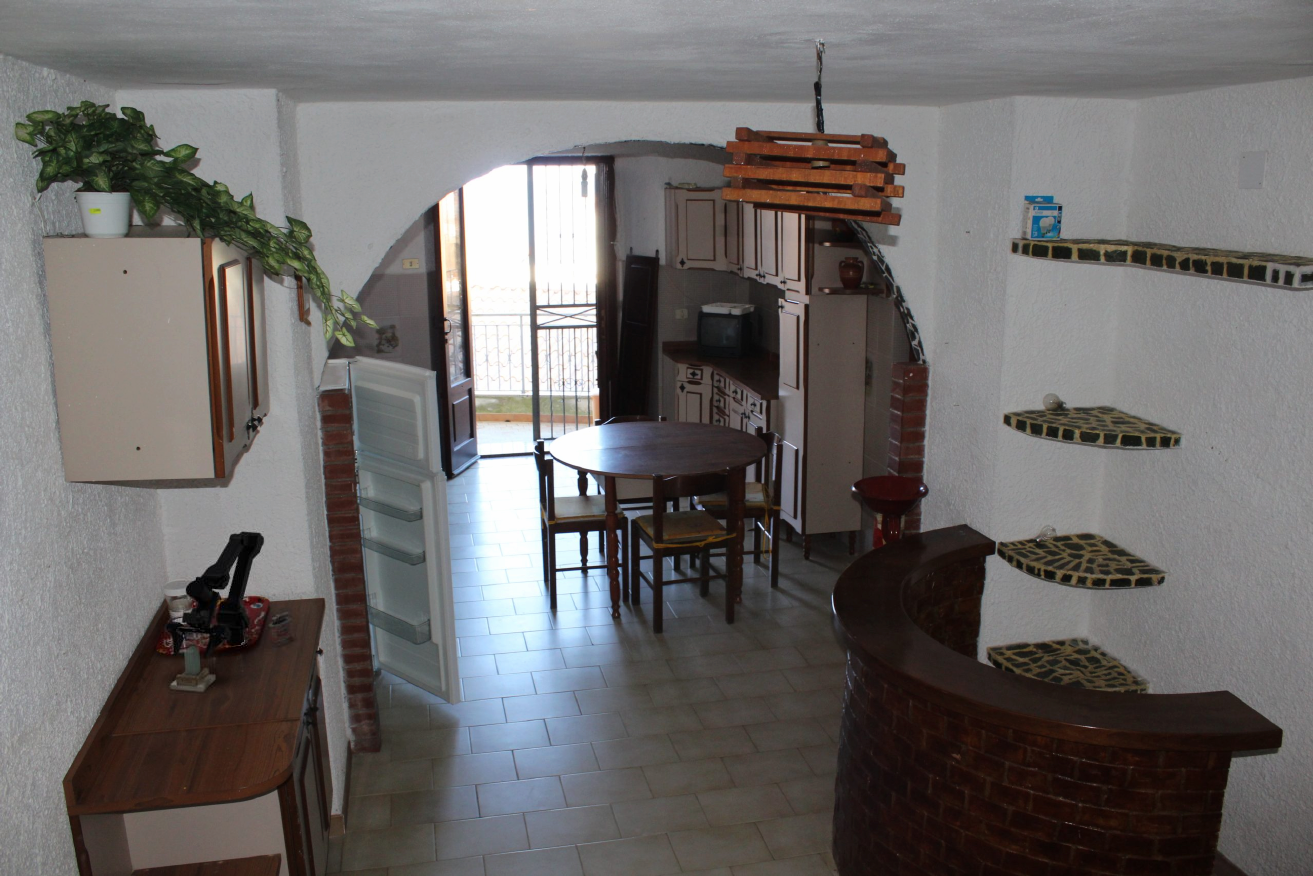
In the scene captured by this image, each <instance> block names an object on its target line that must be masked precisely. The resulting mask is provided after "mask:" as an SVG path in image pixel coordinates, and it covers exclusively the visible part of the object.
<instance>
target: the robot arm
mask: <svg viewBox="0 0 1313 876" xmlns="http://www.w3.org/2000/svg"><path fill="white" fill-rule="evenodd" d="M264 543H265V537H264V536H263V535H262V533H261V532H256V531H241V532H239V533H232V534H230V535H229V539H228V542H227V544H226V545H225V547H224V548H223V550H222V552H221V554H220V555H219V557H217V560H216V562H214V564H212V565H211V564H210V565H209V567H207V568H206V570H205V571H204V572H203V573H202V575H201V576H195V579H194V580H191V581H190V583H188V584H187V585H186V587H185V593H186V595H187V596H188V597H189V598H190V599H191V600H192V601H193V602H195V603H196V607H195V608H194V607H193V608H192V611H191V612H185V611H184V612H182V617H181V618H182V619H181V621H180V622H179V621H170V620H169V621H168V622H166V624H165V626H164V631H166V632H167V633H168V634H169V635H170V636H171V637H172V643H173V645H172V646H173V657H175V658H176V657H178V655H179V654H180V653H179V652H180V650H181V648H182V645H183V643H184V640H185V637H184V635H186V633H187V634H196V635H197V634H198V635H208V642H207V645H206V648H205V650H204V653H203V659H204V660H206V659H208V657H210V655H211V654H212V653H213V652H214V651H215V649H217V648H218V647H219V646H220V645H221V644H222V643H224V642H225V640H226V643H227V644H229V645H231V646H234V645H241V643H242V642H244V637H245V630H247V629H249V628H250V624H251V617H249V616H248V615H247V613H246V612H247V611H246V610H247V609H246V606H245V603H244V597H245V592H246V589H247V585H248V582H249V581H248V580H249V577H250V573H251V569H252V566H253V561H254V559H255V558H256V557H257V556H258V555H259V554H260V553H261V550H262V547H264V545H265V544H264ZM234 564H235V567H234V571H233V575H232V580H231V575H230V572H231V570H232V568H233V566H234ZM230 580H231V583H230ZM229 583H230V588H229V590H228V595H227V598H226V599H225V600H224V601H223V600H222V596H221V595H220V594H221V593H220V592H219V590H220V591H223V590H225V589H226V588H227V587H228V586H229ZM215 590H218V591H215ZM219 601H220V603H219ZM218 605H219V607H218V610H217V606H218ZM216 610H217V612H216ZM215 613H216V614H215ZM213 620H215V621H216V623H217V624H214V625H213V626H212V627H211V625H212V621H213ZM184 624H186V625H184Z"/></svg>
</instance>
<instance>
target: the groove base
mask: <svg viewBox="0 0 1313 876" xmlns="http://www.w3.org/2000/svg"><path fill="white" fill-rule="evenodd" d="M209 670H210V669H209V668H207V667H204V668H202V670H200V671H201V672H200V673H199V674H198V675H197V676H191V675H186V670H185V671H183V672H182V673H181V674H177V675H175V680H174V681H172V682H171V684H170V687H169V688H170V690H176V691H177V690H178V691H188V692H189V691H191V692H199V693H200V692H202V693H204V691H205V690H206V689H207V688H208V687H209V686H210V685H211V684H212V683H213V682H214V681H215V680H216V674H215V673H214V674H212V673H210V671H209Z"/></svg>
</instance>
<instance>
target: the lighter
mask: <svg viewBox="0 0 1313 876" xmlns="http://www.w3.org/2000/svg"><path fill="white" fill-rule="evenodd" d="M289 616H290V613H289V612H288V611H286V612H283V613H281V614H276V615H275V616H274V617H272V618H271V622H270V623H269V624H268V628H269V641H270V642H269V647H271V648H275V647H278V646H282V645H285V644H287V643H289V642H291V641H292V640H293V635H292V618H291V617H289Z"/></svg>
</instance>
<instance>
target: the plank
mask: <svg viewBox="0 0 1313 876" xmlns="http://www.w3.org/2000/svg"><path fill="white" fill-rule="evenodd" d="M183 653H184V666H185V671H186V675H191V676H197V675H198V674H199V673H200V672H201V671H202V670H201V663H200V662H201V661H200V660H201V659H200V648H199V646H197V645H194V646H193V645H190V646H189V647H188V648H187V649H186V650H185V651H184V652H183Z"/></svg>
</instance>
